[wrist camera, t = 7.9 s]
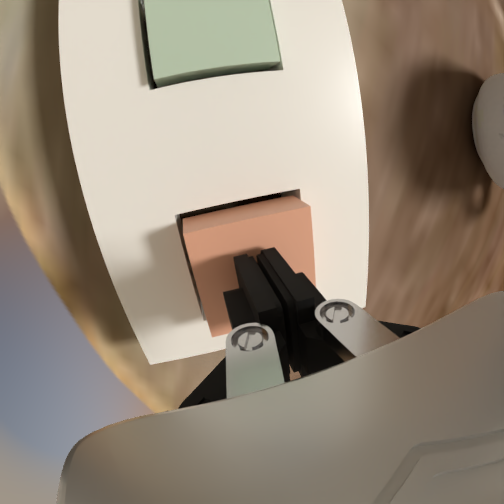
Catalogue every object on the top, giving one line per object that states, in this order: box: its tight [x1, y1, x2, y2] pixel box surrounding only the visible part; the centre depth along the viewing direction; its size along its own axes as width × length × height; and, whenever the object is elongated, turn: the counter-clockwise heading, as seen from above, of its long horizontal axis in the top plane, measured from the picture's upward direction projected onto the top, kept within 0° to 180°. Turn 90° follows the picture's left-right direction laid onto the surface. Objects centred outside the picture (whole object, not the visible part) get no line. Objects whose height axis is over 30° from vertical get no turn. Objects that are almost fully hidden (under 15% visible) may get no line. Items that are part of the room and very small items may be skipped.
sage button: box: [144, 0, 280, 87], centre depth 9 cm, size 5×5×2 cm
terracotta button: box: [183, 195, 316, 337], centre depth 13 cm, size 5×5×2 cm
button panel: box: [59, 0, 369, 364], centre depth 10 cm, size 13×32×3 cm, turn 9°
